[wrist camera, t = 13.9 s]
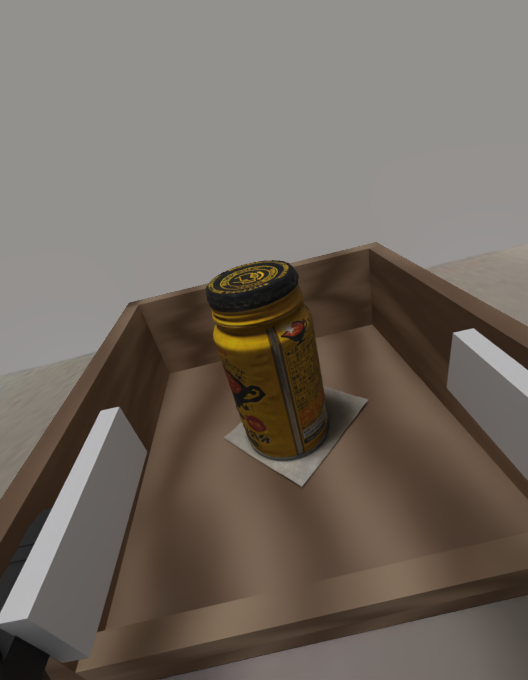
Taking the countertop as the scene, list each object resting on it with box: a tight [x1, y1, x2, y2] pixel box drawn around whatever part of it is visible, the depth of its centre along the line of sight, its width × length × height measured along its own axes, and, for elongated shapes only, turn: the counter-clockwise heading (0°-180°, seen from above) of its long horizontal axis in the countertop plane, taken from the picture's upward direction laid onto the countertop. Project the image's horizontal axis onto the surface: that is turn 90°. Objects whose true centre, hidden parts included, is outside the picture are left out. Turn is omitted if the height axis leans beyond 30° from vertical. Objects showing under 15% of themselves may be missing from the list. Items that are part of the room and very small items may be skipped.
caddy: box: [0, 242, 528, 680], centre depth 22 cm, size 24×24×9 cm
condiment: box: [206, 260, 368, 487], centre depth 21 cm, size 7×8×12 cm
